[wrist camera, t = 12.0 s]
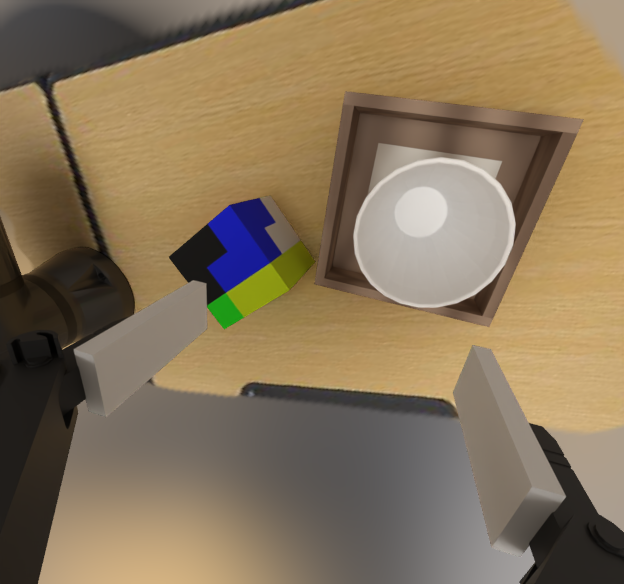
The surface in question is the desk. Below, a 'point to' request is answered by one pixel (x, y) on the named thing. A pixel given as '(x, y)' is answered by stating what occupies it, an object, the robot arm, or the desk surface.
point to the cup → (434, 232)
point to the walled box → (432, 144)
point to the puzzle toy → (244, 258)
